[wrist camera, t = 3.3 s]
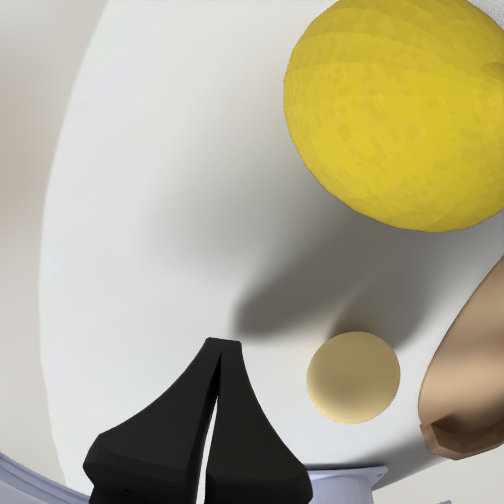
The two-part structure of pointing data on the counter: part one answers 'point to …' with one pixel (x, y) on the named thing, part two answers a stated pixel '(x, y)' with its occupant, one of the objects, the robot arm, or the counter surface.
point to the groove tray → (468, 378)
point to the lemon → (402, 110)
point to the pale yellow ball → (353, 377)
